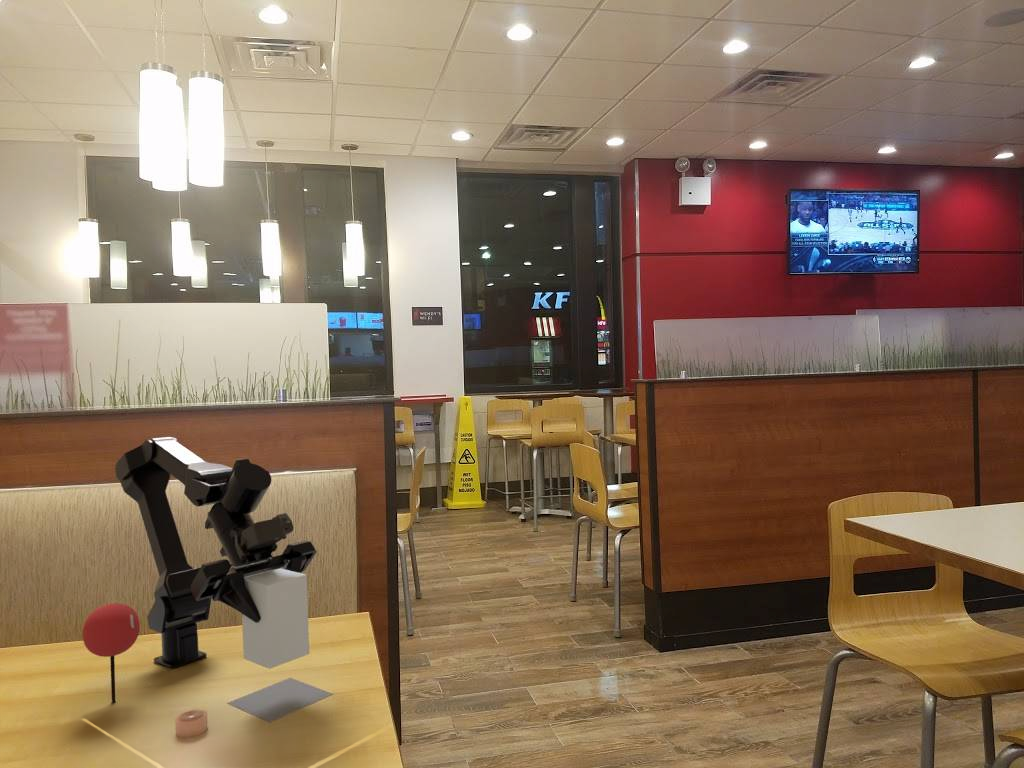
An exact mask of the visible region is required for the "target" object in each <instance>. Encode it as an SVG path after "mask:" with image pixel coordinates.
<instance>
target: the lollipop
mask: <svg viewBox="0 0 1024 768" xmlns="http://www.w3.org/2000/svg"><path fill="white" fill-rule="evenodd" d="M138 615H139V614H137V612H136V611H135V609H134V608H132V607H131V606H130V605H127V604H125V603H117V602H115V603H108V604H104V605H102V606H100V607H97V608H95V609H94V610H92V612H91V613H90V614H89V615H88V617H86V619H85V621H84V624H83V627H82V642H83V644H84V646H85V647H86V649H87V650H88V651H89V652H90V653H91V654H92V655H95V656H98V657H104V658H105V657H108V658H110V659H109V661H110V684H111V685H110V688H111V690H110V691H111V692H110V693H111V702H110V703H111V704H115V703H117V701H116V671H115V665H116V664H115V656H118V655H120V654H123V653H125V652H126V651H129V649H130V648H132V647H133V645H134V644H135V643H136V641H137V639H138V637H139V634H140V627H141V626H140V619H139V616H138Z"/></svg>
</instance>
